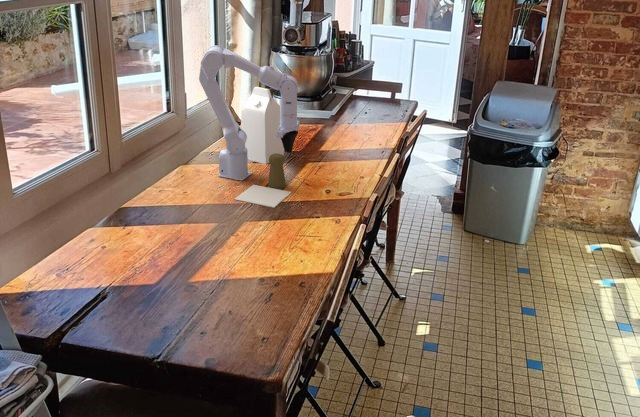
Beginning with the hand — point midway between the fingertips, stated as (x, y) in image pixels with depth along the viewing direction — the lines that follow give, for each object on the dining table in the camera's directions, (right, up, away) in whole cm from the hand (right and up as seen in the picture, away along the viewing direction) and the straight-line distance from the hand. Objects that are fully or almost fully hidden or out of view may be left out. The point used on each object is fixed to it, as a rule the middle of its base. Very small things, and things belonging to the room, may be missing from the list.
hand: (288, 151), depth 211 cm
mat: (-7, -15, -12) cm, 21 cm away
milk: (-11, 0, +21) cm, 24 cm away
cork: (-4, -12, -4) cm, 13 cm away
